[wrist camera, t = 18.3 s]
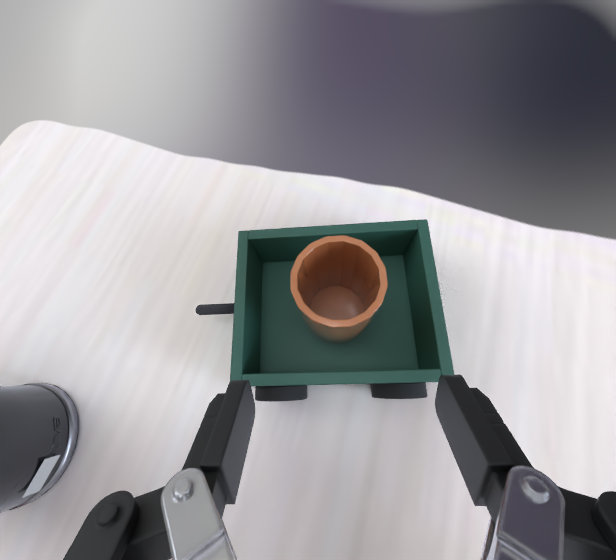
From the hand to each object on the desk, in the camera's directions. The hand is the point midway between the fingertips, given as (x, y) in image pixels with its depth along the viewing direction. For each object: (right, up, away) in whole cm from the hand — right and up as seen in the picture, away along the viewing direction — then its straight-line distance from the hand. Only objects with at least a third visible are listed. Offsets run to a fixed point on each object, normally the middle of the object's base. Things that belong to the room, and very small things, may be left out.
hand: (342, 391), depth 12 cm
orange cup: (+1, +2, +13) cm, 13 cm away
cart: (+1, +2, +14) cm, 14 cm away
